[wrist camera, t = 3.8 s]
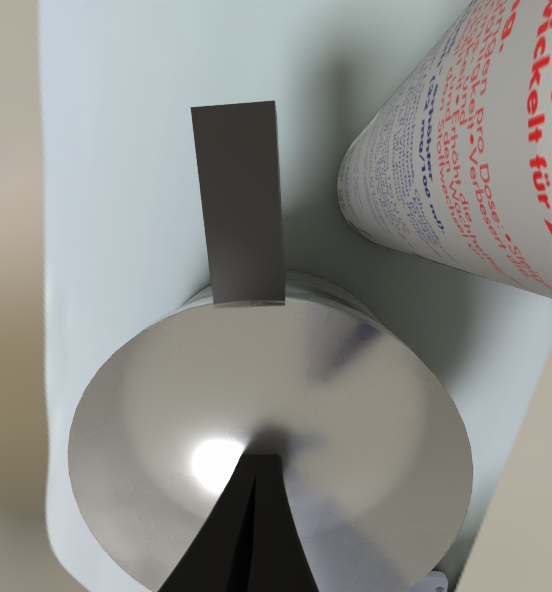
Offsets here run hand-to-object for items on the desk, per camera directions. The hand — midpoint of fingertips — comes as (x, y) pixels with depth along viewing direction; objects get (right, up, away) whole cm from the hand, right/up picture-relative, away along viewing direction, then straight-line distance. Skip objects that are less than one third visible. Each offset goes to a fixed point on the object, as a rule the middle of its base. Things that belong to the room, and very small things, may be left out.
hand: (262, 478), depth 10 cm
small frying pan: (0, +2, +1) cm, 2 cm away
